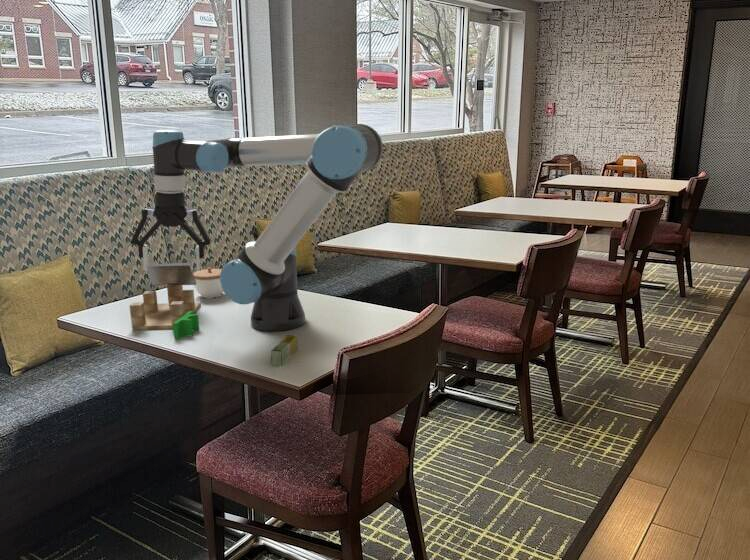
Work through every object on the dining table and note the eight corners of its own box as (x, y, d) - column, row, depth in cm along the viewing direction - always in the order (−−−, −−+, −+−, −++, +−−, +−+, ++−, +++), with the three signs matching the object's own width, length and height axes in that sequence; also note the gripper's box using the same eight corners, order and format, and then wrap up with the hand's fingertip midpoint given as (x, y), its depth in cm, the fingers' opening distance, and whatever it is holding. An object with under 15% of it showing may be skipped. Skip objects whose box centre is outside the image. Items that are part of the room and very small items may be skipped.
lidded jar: (224, 299, 216) (222, 271, 214) (191, 300, 216) (188, 271, 214) (231, 290, 226) (229, 263, 224) (198, 291, 226) (196, 264, 224)
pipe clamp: (188, 340, 180) (186, 323, 179) (174, 339, 180) (172, 323, 179) (203, 326, 191) (201, 310, 190) (190, 326, 191) (189, 310, 190)
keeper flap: (195, 285, 207) (196, 282, 207) (189, 265, 200) (190, 262, 200) (152, 286, 206) (153, 283, 207) (145, 266, 199) (145, 263, 200)
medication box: (281, 367, 160) (281, 351, 159) (270, 366, 160) (270, 350, 159) (298, 349, 171) (297, 334, 170) (287, 349, 172) (287, 333, 171)
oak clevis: (200, 305, 210) (198, 283, 208) (183, 328, 189) (180, 304, 187) (154, 306, 210) (152, 285, 208) (132, 329, 188) (129, 305, 187)
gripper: (219, 189, 183) (220, 266, 189) (122, 187, 179) (126, 265, 185) (218, 194, 176) (219, 273, 182) (116, 191, 172) (121, 273, 177)
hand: (172, 269), depth 183 cm, fingers open, 13 cm apart
